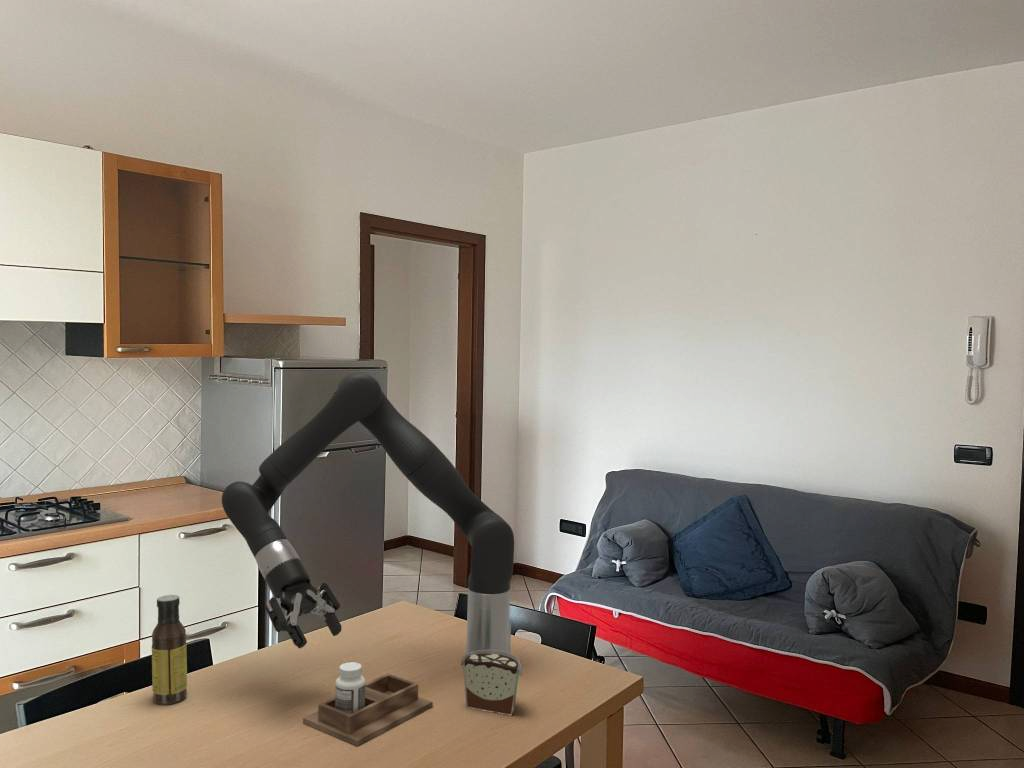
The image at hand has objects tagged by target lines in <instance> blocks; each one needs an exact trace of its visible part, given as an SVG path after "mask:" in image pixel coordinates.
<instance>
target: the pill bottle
mask: <svg viewBox="0 0 1024 768" xmlns="http://www.w3.org/2000/svg"><path fill="white" fill-rule="evenodd" d="M362 667H363V666H362V664H360V663H359V662H354V661H353V662H352V661H351V662H344V663H341V664H340V665H339V677H337V678H336V680H335V684H334V685H335V689H334V692H335V693H334V697H335V708H336V709H338V710H341V711H343V712H346V713H348V714H351V713H353V712H355V711H358V710H360V709H362V708H364V707H365V683H366V679H365V677H364V676H363V675H362V673H363V670H362V669H363V668H362Z"/></svg>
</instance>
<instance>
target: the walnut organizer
mask: <svg viewBox="0 0 1024 768" xmlns="http://www.w3.org/2000/svg"><path fill="white" fill-rule="evenodd" d="M433 703H434V702H433V701H432V700H429V699H426V698H425V697H424V698H423V697H421V696H419V683H416V682H413V681H411V680H408V679H405V678H402V677H399V676H396V675H393V674H391V673H390V674H389V673H386V674H384V675H382V676H380V677H377V678H375V679H372V680H370V681H367V682H365V707H364V708H362V709H360V710H358V711H355V712H353V713H351V714H348V713H346V712H343V711H341V710H338V709H336V708H335V696H333V697H332V698H330V699H327V700H326V701H323V702H320V703H318V704H317V705H318V709H317V710H318V711H315V712H313V713H311V714H309V715H306V716H304V717H302V724H304V725H306V726H308V727H310V728H313V729H315V730H318V731H320V732H322V733H324V734H326V735H330V736H332V737H334V738H336V739H339V740H341V741H344V742H346V743H348V744H350V745H354V747H355V746H356V747H359V746H361V745H363V744H365V743H367V742H368V741H370V740H372V739H374V738H376V737H378V736H380V735H382V734H384V733H385V732H387V731H389V730H391V729H393V728H395V727H397V726H398V725H401V724H402V723H405V722H407V721H408V720H410V719H412V718H414V717H416V716H418V715H419V714H421V713H424V712H425V711H427V710H429V709H431V708H433V705H434V704H433Z"/></svg>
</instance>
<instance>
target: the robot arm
mask: <svg viewBox="0 0 1024 768" xmlns="http://www.w3.org/2000/svg"><path fill="white" fill-rule="evenodd" d="M356 423H360V424H361V425H362V426H363V427H364V428H365V429H366V430H368V431H369V433H371V435H373V436H374V438H375V439H376V440H377V441H378V443H379V444H380V445H381V447H382V448H383V450H384V452H385V453H386V454H387V456H388V457H389V458H390V460H391V461H392V462H393V463H394V465H395V466H396V468H398V469H399V471H400V472H401V473H402V475H403V476H404V477H405V478H406V479H407V480H408V481H409V482H410V483H411V484H412V485H413V486H414V487H415V488H416V490H418V491H419V492H420V493H421V494H422V495H423V496H424V497H426V498H427V500H429V501H430V502H431V503H433V504H434V505H435V506H437V507H438V508H439V509H441V510H442V511H443V512H445V514H447V516H448V517H450V519H451V520H452V521H453V522H454V523H455V524H456V526H457V527H458V529H459V530H460V532H462V534H463V536H464V537H465V538H466V540H467V542H468V543H469V545H470V546H471V562H470V573H469V575H468V579H467V615H466V619H467V620H466V647H465V649H466V650H465V651H466V652H465V655H466V654H467V653H470V652H473V651H478V650H499V651H505V652H508V653H511V638H512V637H511V635H512V634H511V633H512V632H511V631H512V621H511V620H510V608H511V607H510V605H511V601H510V600H511V581H512V579H513V573H514V560H515V559H514V558H515V535H514V531H513V529H512V527H511V526H510V524H509V523H508V522H506V521H505V519H504V518H502V516H500V515H499V514H497V513H496V512H495V511H493V509H491V508H490V507H489V506H488V505H486V503H485V502H483V501H482V500H481V499H480V498H479V497H478V496H477V495H476V494H474V492H473V490H471V488H470V487H469V486H468V485H467V483H466V481H465V480H464V478H463V477H462V475H461V474H460V472H459V471H458V469H456V467H455V465H453V463H452V462H451V461H450V460H449V458H448V457H447V456H446V455H445V454H444V453H443V452H442V451H441V450H440V448H439V447H438V446H437V445H436V444H435V443H434V442H433V441H432V440H431V439H430V438H429V437H428V436H426V434H424V433H423V432H422V431H421V430H420V429H418V428H417V427H416V426H415V425H414V424H412V423H411V422H410V421H409V420H408V419H406V418H405V417H404V416H403V415H402V414H401V413H400V412H399V411H398V410H397V408H395V406H394V404H392V403H391V401H390V400H389V399H388V397H387V396H386V394H384V392H383V391H382V387H381V385H380V383H379V381H378V380H377V379H376V378H374V376H372V375H370V374H368V373H365V372H360V371H358V372H357V371H356V372H351V373H349V374H347V375H345V376H344V377H343V378H341V380H340V381H339V383H338V384H337V387H336V392H334V394H333V395H332V396H331V398H330V399H329V401H328V402H327V403H325V405H324V407H323V408H322V409H321V410H320V411H319V412H317V414H316V415H315V416H314V417H313V418H311V419H310V421H308V422H307V423H306V424H305V425H303V426H302V427H300V428H299V429H298V430H297V431H296V432H295V433H293V434H292V435H290V436H289V437H288V438H287V439H286V440H285V441H284V442H282V443H281V444H280V445H279V446H277V448H275V450H274V451H273V452H271V453H270V455H268V457H266V458H265V459H264V460H263V461H262V462H261V464H260V465H259V468H258V472H259V476H258V477H257V479H256V480H255V481H254V482H253V484H250V483H249V482H245V481H241V480H240V481H239V480H238V481H234V482H232V483H230V484H228V485H226V487H225V489H224V490H223V492H222V495H221V506H222V509H223V511H224V513H225V514H226V516H227V518H228V519H229V521H230V522H231V523H232V525H233V527H235V528H236V530H237V531H238V533H240V535H241V536H242V538H244V540H245V542H246V543H247V546H248V548H249V550H250V552H251V554H252V555H253V557H254V559H255V561H256V564H257V567H258V570H259V572H260V574H261V575H262V577H263V579H264V581H265V583H266V585H267V586H268V588H269V590H270V592H271V594H272V597H271V598H270V599H269V600H268V601H267V603H266V604H265V605H264V609H265V611H266V613H267V615H268V617H269V619H270V621H271V624H272V625H273V628H274V630H275V631H276V632H277V633H280V632H286V633H287V634H288V635H289V638H290V639H291V641H292V643H293V644H294V646H295V647H297V648H298V649H299V650H300V649H302V648H304V647H305V646H306V645H307V643H308V640H307V638H306V636H305V635H304V633H303V630H302V628H301V627H300V625H299V624H298V625H297V623H298V617H301V616H302V615H308V614H313V615H314V616H317V615H318V616H320V617H321V618H323V619H324V622H325V623H326V625H327V626H326V627H328V630H329V631H330V633H331V635H332V636H333V637H335V636H338V635H339V634H340V633H342V628H343V627H342V624H341V622H340V621H339V619H338V617H337V615H336V612H337V610H338V609H340V607H341V604H340V603H339V601H338V599H337V598H336V596H335V595H334V593H333V591H332V590H331V588H330V587H329V585H328V583H326V582H322V584H320V585H319V586H317V587H315V586H313V585H312V583H311V576H310V575H309V573H308V571H307V569H306V566H305V565H304V563H303V562H302V560H301V558H300V557H299V554H298V553H297V552H296V550H295V548H294V547H293V545H292V543H290V541H289V540H288V538H287V536H286V535H285V532H284V531H283V529H282V528H281V526H280V525H279V522H277V520H275V519H274V518H273V517H271V516H270V515H269V514H268V513H269V512H270V510H271V509H273V507H274V506H275V504H276V503H277V501H278V500H279V498H280V497H281V496H282V494H283V492H284V491H285V489H286V488H287V486H289V485H290V484H292V482H293V481H294V480H295V479H296V478H297V477H299V475H300V474H301V473H303V472H304V471H305V470H306V469H307V468H308V467H309V466H310V465H311V464H312V462H314V460H316V459H317V457H318V456H320V454H321V453H322V452H324V450H325V449H326V448H327V447H328V446H329V445H330V444H332V442H334V441H335V440H336V439H337V438H338V437H339V436H340V435H342V434H343V433H344V432H345V431H347V430H348V429H349V428H351V427H352V426H353V425H355V424H356ZM282 609H283V610H285V613H284V612H283V610H282ZM284 614H285V615H284Z"/></svg>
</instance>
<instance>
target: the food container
mask: <svg viewBox="0 0 1024 768" xmlns="http://www.w3.org/2000/svg"><path fill="white" fill-rule="evenodd" d="M462 666H463V679H464V691H465V706H466V707H467V708H466V709H470V708H474V709H473V710H476V709H480V710H479V711H481V710H486V711H485V712H487V711H492V712H498V713H499V712H500V713H503V714H511V715H512V714H513V715H514V713H513V712H514V711H515V705H516V699H517V698H516V696H517V689H518V680H519V677H521V676H522V675H523V670H522V669H523V668H522V664H521V661H520V659H519V657H518V656H517V655H515V654H514V653H512V652H510V653H508V652H505V651H499V650H478V651H473V652H470V653H467V654H466V653H465V654H463V656H462V658H461V663H460V667H462ZM492 712H491V713H492ZM503 714H502V715H503ZM513 715H512V716H513Z"/></svg>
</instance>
